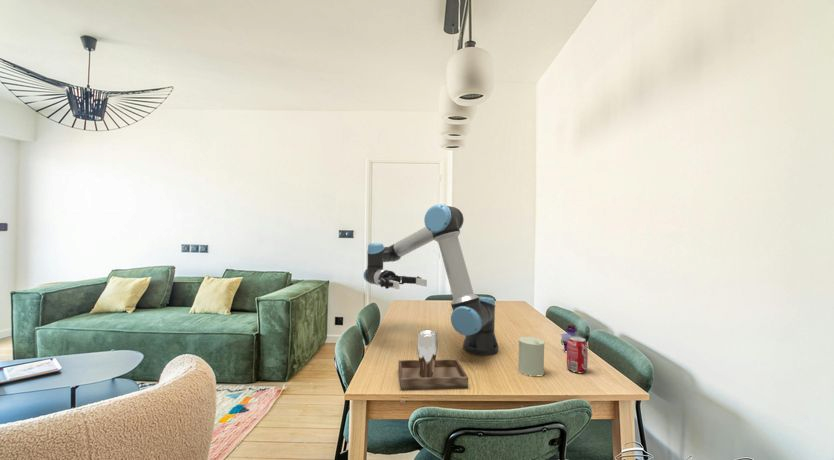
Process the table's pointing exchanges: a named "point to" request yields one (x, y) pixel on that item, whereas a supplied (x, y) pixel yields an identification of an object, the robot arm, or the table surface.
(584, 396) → the table surface
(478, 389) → the table surface
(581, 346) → the soda can
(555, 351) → the table surface
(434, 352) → the beer glass
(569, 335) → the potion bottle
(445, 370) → the walnut tray
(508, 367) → the table surface
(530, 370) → the can
